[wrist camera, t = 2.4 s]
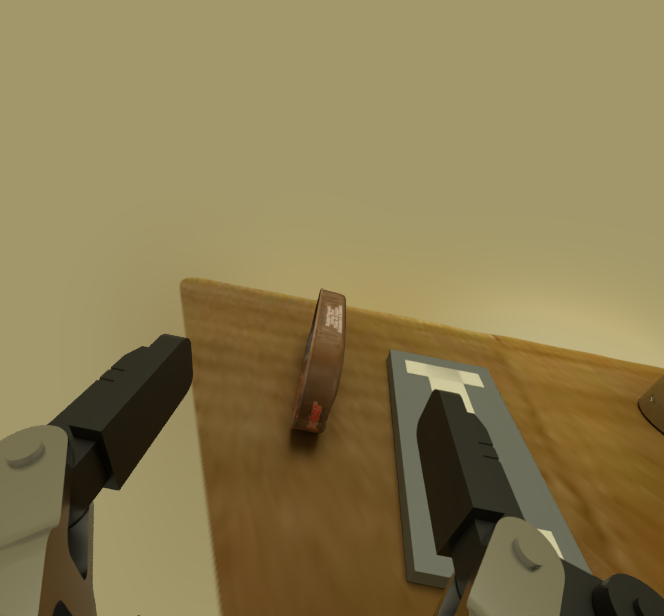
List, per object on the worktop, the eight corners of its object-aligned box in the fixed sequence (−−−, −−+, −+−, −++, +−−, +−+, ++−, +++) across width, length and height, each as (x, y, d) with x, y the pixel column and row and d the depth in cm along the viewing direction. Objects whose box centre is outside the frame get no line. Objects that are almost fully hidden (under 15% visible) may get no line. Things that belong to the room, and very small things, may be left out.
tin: (308, 337, 36) (318, 272, 32) (334, 341, 36) (348, 278, 32) (284, 452, 23) (295, 371, 19) (324, 459, 23) (345, 379, 19)
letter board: (481, 377, 35) (487, 367, 34) (593, 617, 18) (610, 608, 17) (386, 359, 35) (390, 348, 34) (407, 581, 18) (415, 570, 17)
